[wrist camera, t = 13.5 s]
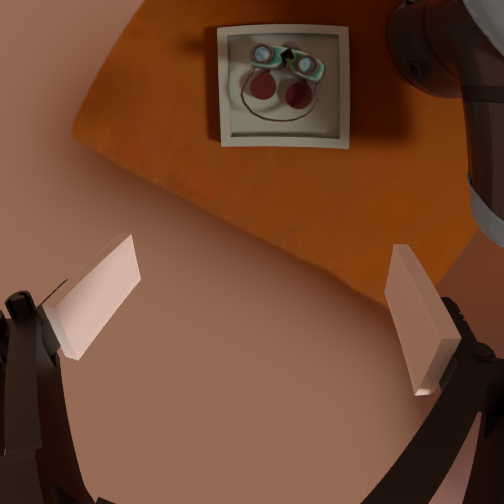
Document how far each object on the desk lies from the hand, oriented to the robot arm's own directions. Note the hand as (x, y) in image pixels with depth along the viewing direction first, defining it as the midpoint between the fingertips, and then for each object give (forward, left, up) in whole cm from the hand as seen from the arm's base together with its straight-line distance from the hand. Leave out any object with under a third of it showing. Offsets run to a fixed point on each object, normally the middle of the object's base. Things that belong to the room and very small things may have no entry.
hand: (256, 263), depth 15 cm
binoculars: (0, -10, -28) cm, 30 cm away
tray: (0, -10, -29) cm, 30 cm away
